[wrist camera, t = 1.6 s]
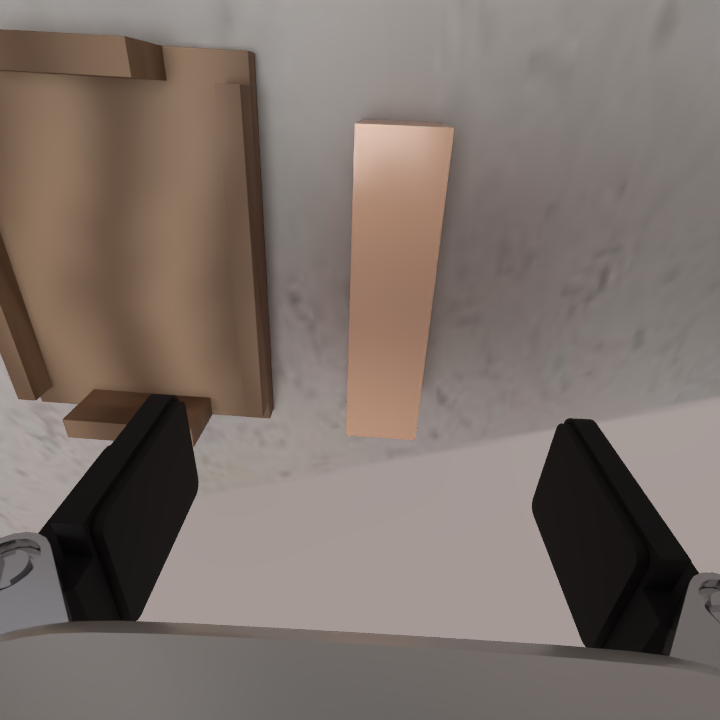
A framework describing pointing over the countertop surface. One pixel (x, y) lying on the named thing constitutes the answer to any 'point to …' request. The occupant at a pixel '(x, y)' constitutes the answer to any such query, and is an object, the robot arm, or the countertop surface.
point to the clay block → (393, 270)
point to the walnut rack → (131, 229)
